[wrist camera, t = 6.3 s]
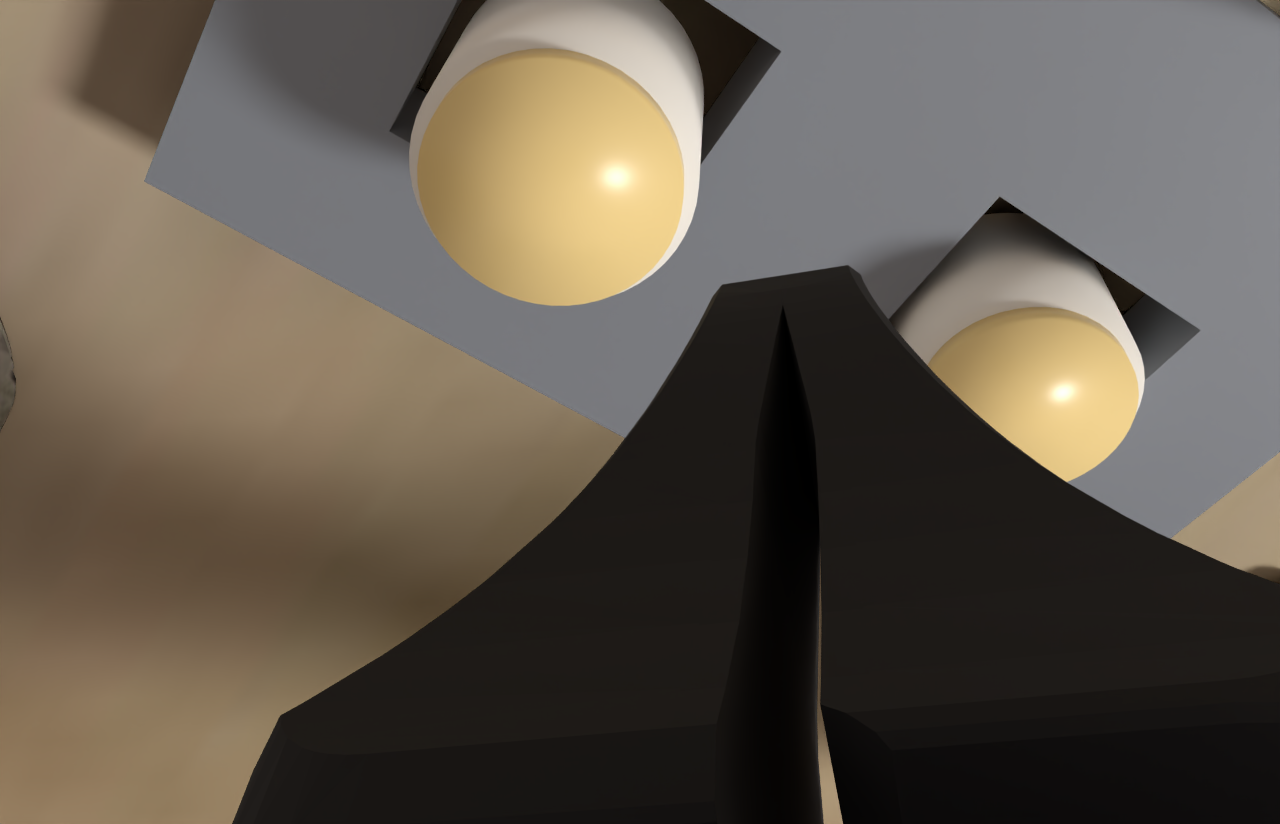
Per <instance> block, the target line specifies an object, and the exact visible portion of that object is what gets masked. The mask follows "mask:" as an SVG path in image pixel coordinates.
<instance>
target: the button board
mask: <svg viewBox="0 0 1280 824" xmlns="http://www.w3.org/2000/svg"><path fill="white" fill-rule="evenodd" d="M705 1H707V2H708V3H710V4H711V5H713V6H714V7H716V8H717V9H719V10H720V11H722V12H723V13H725V14H726V15H728V16H729V17H731V18H732V19H734V20H735V21H737V22H738V23H740V24H741V25H743V26H744V27H746V28H747V29H749V30H750V31H752V32H753V33H755V34H756V35H758V36H759V37H760V38H759V39H758V40H757V42H756V43H755V45H754V46H753V48H752V49H751V51H750V52H749V53H748V55H747V56H746V58H745V59H744V61H743V62H742V63H741V65H740V66H739V68H738V69H737V71H736V72H735V74H734V75H733V76H732V78H731V79H730V81H729V82H728V84H727V85H726V86H725V88H724V89H723V91H722V92H721V94H720V95H719V97H718V98H717V99H716V101H715V102H714V104H713V105H712V107H711V108H710V109H709V111H708V112H707V114H706V115H705V117H704V118H703V128H702V144H701V161H700V178H699V190H698V197H697V204H696V208H695V211H694V215H693V218H692V221H691V223H690V226H689V228H688V230H687V232H686V234H685V236H684V238H683V240H682V241H681V243H680V244H679V246H678V248H677V249H676V251H675V252H674V253H673V254H672V255H671V257H670V258H669V259H668V260H667V261H666V262H665V264H663V265H662V266H661V267H660V268H659V269H658V270H657V271H656V272H655V273H653V274H652V275H651V276H649V277H648V278H646V279H645V280H644V281H642V282H641V283H639V284H638V285H636V286H634V287H632V288H630V289H628V290H626V291H624V292H621V293H619V294H616V295H613V296H610V297H608V298H605V299H602V300H599V301H595V302H590V303H586V304H580V305H570V306H550V305H542V304H534V303H530V302H526V301H521V300H518V299H515V298H512V297H509V296H507V295H504V294H502V293H500V292H497V291H495V290H493V289H491V288H489V287H487V286H486V285H484V284H483V283H481V282H480V281H478V280H476V279H475V278H473V277H472V276H471V275H470V274H468V273H467V272H466V271H465V270H463V269H462V268H461V267H460V266H459V265H458V264H457V263H456V262H455V261H454V260H453V259H452V258H451V257H450V256H449V254H448V253H447V252H446V251H445V249H444V248H443V247H442V246H441V244H440V243H439V241H438V240H437V239H436V238H435V236H434V235H433V233H432V232H431V230H430V228H429V227H428V225H427V223H426V222H425V220H424V218H423V215H422V213H421V211H420V209H419V206H418V204H417V201H416V198H415V194H414V191H413V188H412V182H411V176H410V168H409V149H410V141H411V134H412V130H413V126H414V123H415V119H416V116H417V114H418V111H419V109H420V107H421V105H422V102H423V100H424V99H425V97H426V95H427V94H426V93H425V92H423V91H421V90H420V89H418V88H416V86H417V85H418V83H419V81H420V79H421V77H422V75H423V73H424V71H425V69H426V67H427V65H428V64H429V62H430V60H431V58H432V56H433V54H434V52H435V50H436V48H437V46H438V44H439V43H440V41H441V39H442V37H443V35H444V33H445V31H446V29H447V27H448V25H449V23H450V21H451V20H452V18H453V16H454V14H455V12H456V10H457V8H458V6H459V4H460V2H461V0H215V2H214V4H213V7H212V9H211V12H210V15H209V17H208V20H207V22H206V25H205V27H204V30H203V32H202V35H201V37H200V40H199V43H198V45H197V48H196V50H195V53H194V55H193V58H192V60H191V63H190V66H189V68H188V71H187V73H186V76H185V78H184V81H183V83H182V86H181V89H180V91H179V94H178V96H177V99H176V101H175V104H174V106H173V109H172V111H171V114H170V117H169V119H168V122H167V124H166V127H165V129H164V132H163V134H162V137H161V140H160V142H159V145H158V147H157V150H156V152H155V155H154V157H153V160H152V163H151V165H150V168H149V170H148V173H147V175H146V178H145V180H144V182H146V183H148V184H150V185H152V186H154V187H156V188H158V189H159V190H161V191H163V192H165V193H167V194H169V195H171V196H173V197H174V198H176V199H178V200H180V201H182V202H184V203H186V204H188V205H189V206H191V207H193V208H195V209H197V210H199V211H201V212H203V213H204V214H206V215H208V216H210V217H212V218H214V219H216V220H217V221H219V222H221V223H223V224H225V225H227V226H229V227H231V228H232V229H234V230H236V231H238V232H240V233H242V234H244V235H246V236H247V237H249V238H251V239H253V240H255V241H257V242H259V243H261V244H262V245H264V246H266V247H268V248H270V249H272V250H274V251H276V252H277V253H279V254H281V255H283V256H285V257H287V258H289V259H291V260H292V261H294V262H296V263H298V264H300V265H302V266H304V267H306V268H307V269H309V270H311V271H313V272H315V273H317V274H319V275H321V276H322V277H324V278H326V279H328V280H330V281H332V282H334V283H335V284H337V285H339V286H341V287H343V288H345V289H347V290H349V291H350V292H352V293H354V294H356V295H358V296H360V297H362V298H364V299H365V300H367V301H369V302H371V303H373V304H375V305H377V306H379V307H380V308H382V309H384V310H386V311H388V312H390V313H392V314H394V315H395V316H397V317H399V318H401V319H403V320H405V321H407V322H409V323H410V324H412V325H414V326H416V327H418V328H420V329H422V330H424V331H425V332H427V333H429V334H431V335H433V336H435V337H437V338H439V339H440V340H442V341H444V342H446V343H448V344H450V345H452V346H453V347H455V348H457V349H459V350H461V351H463V352H465V353H467V354H468V355H470V356H472V357H474V358H476V359H478V360H480V361H482V362H483V363H485V364H487V365H489V366H491V367H493V368H495V369H497V370H498V371H500V372H502V373H504V374H506V375H508V376H510V377H512V378H513V379H515V380H517V381H519V382H521V383H523V384H525V385H527V386H528V387H530V388H532V389H534V390H536V391H538V392H540V393H542V394H543V395H545V396H547V397H549V398H551V399H553V400H555V401H557V402H558V403H560V404H562V405H564V406H566V407H568V408H570V409H571V410H573V411H575V412H577V413H579V414H581V415H583V416H585V417H586V418H588V419H590V420H592V421H594V422H596V423H598V424H600V425H601V426H603V427H605V428H607V429H609V430H611V431H613V432H615V433H616V434H618V435H620V436H622V437H624V438H625V437H626V436H627V435H628V433H629V432H630V431H631V429H632V428H633V427H634V425H635V424H636V423H637V421H638V420H639V419H640V417H641V416H642V414H643V413H644V412H645V410H646V409H647V407H648V406H649V405H650V403H651V402H652V400H653V399H654V397H655V395H656V394H657V392H658V391H659V389H660V388H661V386H662V384H663V383H664V381H665V380H666V378H667V376H668V375H669V373H670V372H671V370H672V369H673V367H674V365H675V364H676V362H677V361H678V359H679V357H680V356H681V354H682V352H683V350H684V349H685V347H686V345H687V344H688V342H689V340H690V338H691V337H692V335H693V333H694V331H695V329H696V327H697V326H698V324H699V322H700V320H701V318H702V316H703V314H704V312H705V310H706V308H707V307H708V305H709V303H710V301H711V299H712V297H713V295H714V294H715V293H716V291H717V290H718V289H719V288H720V286H721V285H722V284H729V283H735V282H742V281H748V280H755V279H761V278H767V277H774V276H780V275H787V274H793V273H800V272H806V271H813V270H819V269H826V268H832V267H839V266H845V265H849V266H850V267H851V268H853V269H854V270H855V271H857V272H858V273H860V274H861V276H862V279H863V281H864V283H865V285H866V287H867V289H868V291H869V292H870V294H871V295H872V297H873V299H874V300H875V302H876V303H877V305H878V306H879V307H880V309H881V310H882V312H883V313H884V314H885V316H886V317H887V318H888V319H889V318H890V317H891V316H892V315H893V314H894V313H895V312H896V311H897V309H898V308H899V307H900V306H901V305H902V304H903V303H904V302H905V301H906V299H907V298H908V297H909V296H910V295H911V294H912V293H913V292H914V291H915V290H916V288H917V287H918V286H919V285H920V284H921V283H922V282H923V281H924V280H925V278H926V277H927V276H928V275H929V274H930V273H931V272H932V271H933V270H934V269H935V267H936V266H937V265H938V264H939V263H940V262H941V261H942V260H943V259H944V257H945V256H946V255H947V254H948V253H949V252H950V251H951V250H952V249H953V248H954V246H955V245H956V244H957V243H958V242H959V241H960V240H961V239H962V238H963V236H964V235H965V234H966V233H967V232H968V231H969V230H970V229H971V228H972V226H973V225H974V224H975V223H976V222H977V221H978V220H979V219H980V218H981V217H982V215H983V214H984V213H985V212H986V211H987V210H988V209H989V208H990V207H991V205H992V204H993V203H994V202H995V201H996V200H997V199H998V198H999V197H1001V198H1003V199H1004V200H1006V201H1007V202H1009V203H1010V204H1012V205H1013V206H1015V207H1016V208H1018V209H1019V210H1021V211H1022V212H1024V213H1025V214H1027V215H1028V216H1030V217H1031V218H1033V219H1034V220H1036V221H1037V222H1039V223H1040V224H1042V225H1043V226H1045V227H1046V228H1048V229H1049V230H1051V231H1052V232H1054V233H1055V234H1057V235H1058V236H1060V237H1061V238H1063V239H1064V240H1066V241H1067V242H1069V243H1070V244H1072V245H1073V246H1075V247H1076V248H1078V249H1079V250H1081V251H1082V252H1084V253H1085V254H1087V255H1088V256H1090V257H1091V258H1093V259H1094V260H1096V261H1097V262H1099V263H1100V264H1102V265H1103V266H1105V267H1106V268H1108V269H1109V270H1111V271H1112V272H1114V273H1115V274H1117V275H1118V276H1120V277H1121V278H1123V279H1124V280H1126V281H1127V282H1129V283H1130V284H1132V285H1133V286H1135V287H1136V288H1138V289H1139V290H1141V291H1142V292H1144V293H1145V295H1144V296H1143V297H1142V298H1141V299H1140V300H1139V301H1138V302H1137V303H1136V304H1135V305H1134V306H1133V307H1132V308H1131V309H1130V310H1128V311H1127V312H1126V313H1125V314H1124V315H1123V316H1122V317H1123V319H1124V321H1125V323H1126V325H1127V327H1128V329H1129V331H1130V333H1131V335H1132V337H1133V339H1134V341H1135V343H1136V345H1137V347H1138V349H1139V352H1140V354H1141V357H1142V361H1143V365H1144V376H1145V382H1144V392H1143V396H1142V399H1141V403H1140V406H1139V408H1138V411H1137V413H1136V415H1135V418H1134V420H1133V423H1132V425H1131V427H1130V429H1129V431H1128V433H1127V434H1126V436H1125V438H1124V439H1123V440H1122V442H1121V443H1120V444H1119V445H1118V447H1117V448H1116V449H1115V450H1114V451H1113V452H1112V453H1111V454H1110V455H1109V456H1108V457H1107V458H1106V459H1105V460H1103V461H1102V462H1101V463H1100V464H1098V465H1097V466H1096V467H1094V468H1093V469H1091V470H1089V471H1088V472H1086V473H1085V474H1083V475H1081V476H1079V477H1077V478H1075V479H1073V480H1071V481H1068V482H1067V483H1069V484H1071V485H1072V486H1074V487H1076V488H1077V489H1079V490H1081V491H1083V492H1084V493H1086V494H1088V495H1090V496H1091V497H1093V498H1095V499H1096V500H1098V501H1100V502H1102V503H1103V504H1105V505H1107V506H1109V507H1110V508H1112V509H1114V510H1116V511H1117V512H1119V513H1121V514H1122V515H1124V516H1126V517H1128V518H1130V519H1132V520H1134V521H1136V522H1138V523H1139V524H1141V525H1143V526H1145V527H1147V528H1149V529H1151V530H1153V531H1155V532H1157V533H1159V534H1161V535H1163V536H1166V537H1168V538H1172V537H1173V536H1174V535H1175V534H1177V533H1178V532H1179V531H1181V530H1182V529H1183V528H1184V527H1186V526H1187V525H1188V524H1189V523H1191V522H1192V521H1193V520H1194V519H1196V518H1197V517H1198V516H1200V515H1201V514H1202V513H1203V512H1205V511H1206V510H1207V509H1208V508H1210V507H1211V506H1212V505H1213V504H1215V503H1216V502H1217V501H1218V500H1220V499H1221V498H1222V497H1224V496H1225V495H1226V494H1227V493H1229V492H1230V491H1231V490H1232V489H1234V488H1235V487H1236V486H1237V485H1239V484H1240V483H1241V482H1242V481H1244V480H1245V479H1246V478H1248V477H1249V476H1250V475H1251V474H1253V473H1254V472H1255V471H1256V470H1258V469H1259V468H1260V467H1261V466H1263V465H1264V464H1265V463H1266V462H1268V461H1269V460H1270V459H1272V458H1273V457H1274V456H1275V455H1277V454H1278V453H1279V452H1280V16H1279V15H1278V14H1276V13H1275V12H1274V11H1272V10H1271V9H1270V8H1269V7H1267V6H1266V5H1265V4H1264V3H1262V2H1261V1H1260V0H705Z"/></svg>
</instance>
